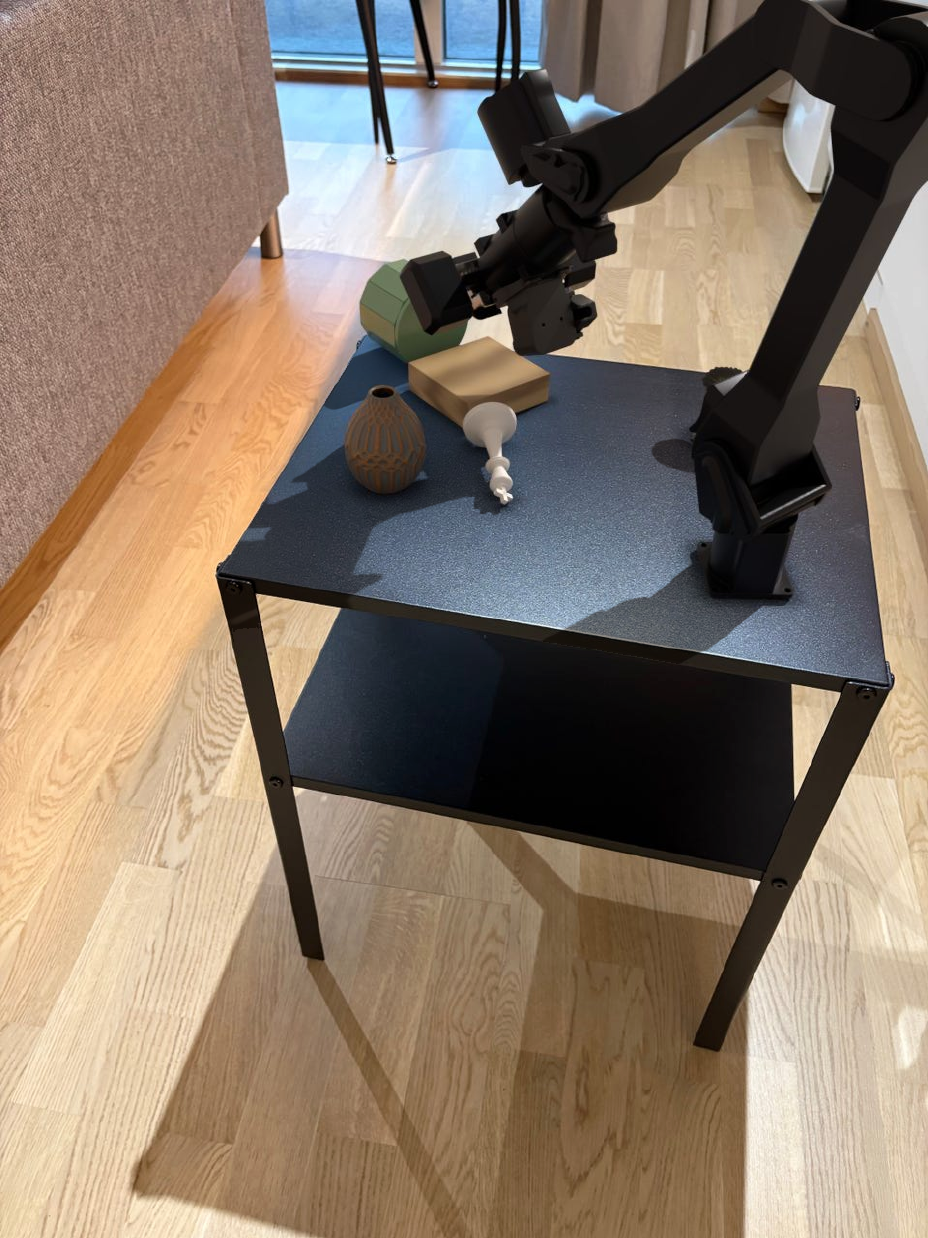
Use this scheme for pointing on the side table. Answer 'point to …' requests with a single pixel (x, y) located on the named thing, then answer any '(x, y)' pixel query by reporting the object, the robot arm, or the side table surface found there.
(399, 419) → the vase
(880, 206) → the robot arm
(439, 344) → the cup
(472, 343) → the block
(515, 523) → the side table surface
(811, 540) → the side table surface
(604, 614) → the side table surface
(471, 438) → the chess piece
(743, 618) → the side table surface
